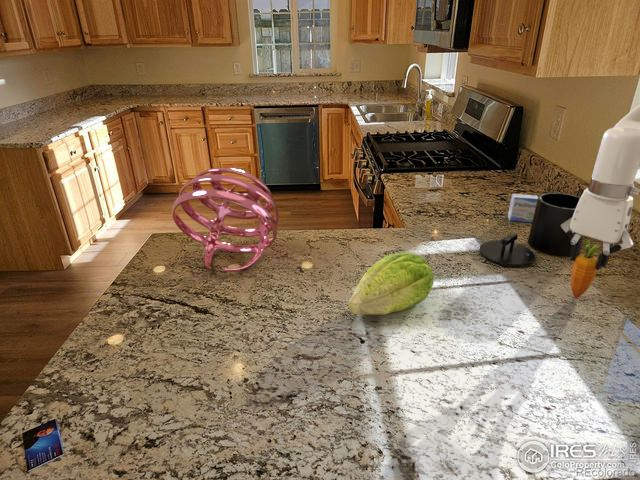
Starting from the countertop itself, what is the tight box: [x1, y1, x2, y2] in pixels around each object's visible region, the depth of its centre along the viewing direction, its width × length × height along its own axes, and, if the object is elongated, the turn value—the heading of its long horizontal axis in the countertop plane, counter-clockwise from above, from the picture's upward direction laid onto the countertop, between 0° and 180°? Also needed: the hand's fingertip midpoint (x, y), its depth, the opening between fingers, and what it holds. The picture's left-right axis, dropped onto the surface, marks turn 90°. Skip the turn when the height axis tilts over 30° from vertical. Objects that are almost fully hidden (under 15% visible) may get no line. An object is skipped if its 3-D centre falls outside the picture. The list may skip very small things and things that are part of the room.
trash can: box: [527, 192, 584, 258], centre depth 124 cm, size 14×14×14 cm
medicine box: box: [507, 193, 539, 224], centre depth 143 cm, size 8×4×9 cm, turn 76°
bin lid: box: [478, 232, 536, 267], centre depth 121 cm, size 15×15×6 cm
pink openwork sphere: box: [171, 167, 280, 273], centre depth 114 cm, size 28×28×27 cm
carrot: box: [570, 240, 602, 299], centre depth 99 cm, size 5×5×15 cm
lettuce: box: [347, 252, 435, 316], centre depth 97 cm, size 13×22×14 cm
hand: (586, 262), depth 98 cm, fingers closed on carrot, 4 cm apart
